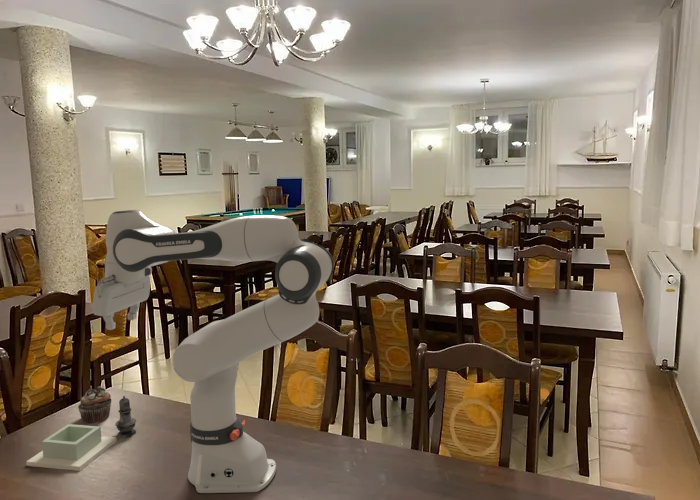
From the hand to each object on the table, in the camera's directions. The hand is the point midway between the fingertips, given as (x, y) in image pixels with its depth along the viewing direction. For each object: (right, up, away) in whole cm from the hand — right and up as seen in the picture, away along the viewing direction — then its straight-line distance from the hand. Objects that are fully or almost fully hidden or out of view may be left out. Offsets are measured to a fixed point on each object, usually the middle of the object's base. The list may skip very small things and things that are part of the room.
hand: (121, 324), depth 139 cm
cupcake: (-22, -35, +33) cm, 53 cm away
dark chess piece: (-8, -36, +22) cm, 43 cm away
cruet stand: (-18, -38, +11) cm, 43 cm away
